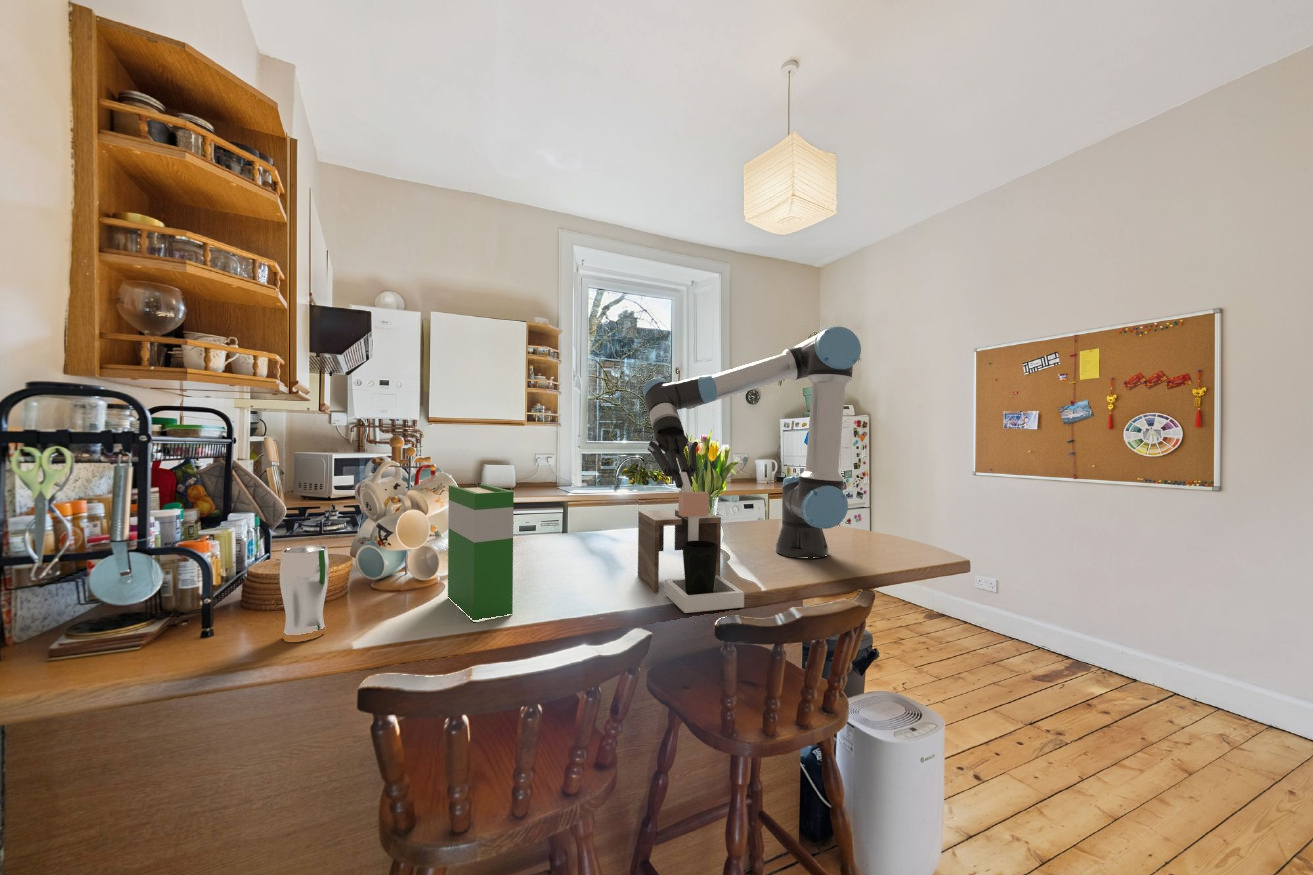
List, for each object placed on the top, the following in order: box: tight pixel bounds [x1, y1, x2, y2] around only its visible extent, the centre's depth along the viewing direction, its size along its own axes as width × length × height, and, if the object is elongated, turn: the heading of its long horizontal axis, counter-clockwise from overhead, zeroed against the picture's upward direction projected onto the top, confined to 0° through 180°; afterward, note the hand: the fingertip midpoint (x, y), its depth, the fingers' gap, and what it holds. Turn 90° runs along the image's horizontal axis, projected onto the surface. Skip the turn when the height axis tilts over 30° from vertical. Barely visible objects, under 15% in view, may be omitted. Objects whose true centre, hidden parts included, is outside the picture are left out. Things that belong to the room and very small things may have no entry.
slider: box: [663, 491, 745, 614], centre depth 108 cm, size 13×14×22 cm
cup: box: [682, 541, 718, 595], centre depth 109 cm, size 8×8×12 cm
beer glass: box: [279, 544, 330, 635], centre depth 88 cm, size 7×7×15 cm
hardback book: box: [447, 483, 515, 620], centre depth 103 cm, size 18×7×24 cm, turn 37°
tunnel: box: [637, 509, 722, 594], centre depth 123 cm, size 16×14×16 cm
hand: (688, 497), depth 115 cm, fingers closed
